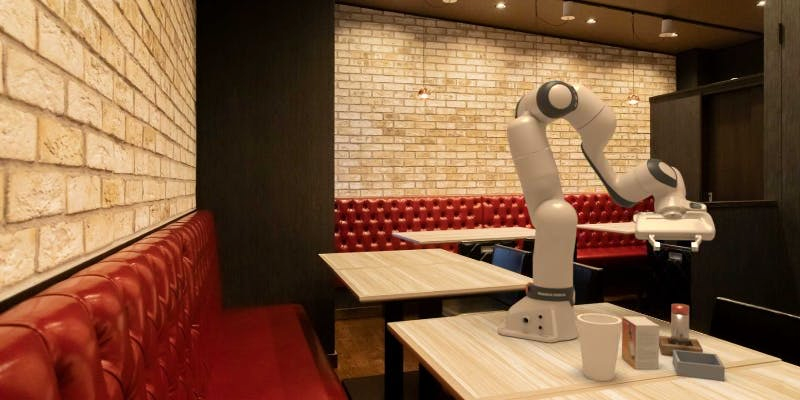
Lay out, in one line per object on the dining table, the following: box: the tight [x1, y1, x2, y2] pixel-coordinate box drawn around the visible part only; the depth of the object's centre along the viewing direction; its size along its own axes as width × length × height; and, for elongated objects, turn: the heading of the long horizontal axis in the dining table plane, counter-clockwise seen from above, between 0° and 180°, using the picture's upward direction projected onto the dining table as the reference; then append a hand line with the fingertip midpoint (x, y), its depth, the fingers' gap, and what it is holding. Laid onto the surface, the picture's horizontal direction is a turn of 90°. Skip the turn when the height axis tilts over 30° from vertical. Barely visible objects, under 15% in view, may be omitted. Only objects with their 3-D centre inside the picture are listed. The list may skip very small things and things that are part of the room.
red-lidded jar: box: [670, 303, 690, 346], centre depth 133 cm, size 4×4×12 cm
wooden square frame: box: [659, 335, 704, 357], centre depth 133 cm, size 9×9×2 cm
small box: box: [621, 315, 660, 370], centre depth 125 cm, size 8×6×10 cm
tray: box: [671, 350, 726, 382], centre depth 120 cm, size 9×9×3 cm
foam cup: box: [576, 313, 622, 382], centre depth 117 cm, size 10×9×13 cm
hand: (675, 249), depth 144 cm, fingers open, 8 cm apart
